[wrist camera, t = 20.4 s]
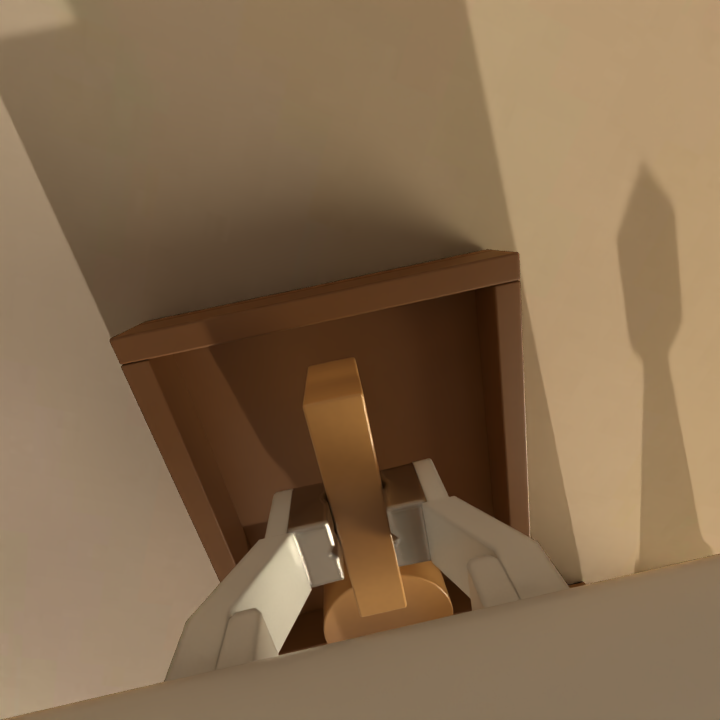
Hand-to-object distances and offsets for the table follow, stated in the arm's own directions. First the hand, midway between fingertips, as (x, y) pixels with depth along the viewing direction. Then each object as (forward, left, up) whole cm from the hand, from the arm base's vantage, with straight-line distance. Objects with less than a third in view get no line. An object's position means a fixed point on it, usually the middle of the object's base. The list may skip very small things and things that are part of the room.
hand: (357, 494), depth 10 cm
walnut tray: (+2, 0, -4) cm, 4 cm away
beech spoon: (+2, 0, -2) cm, 3 cm away
